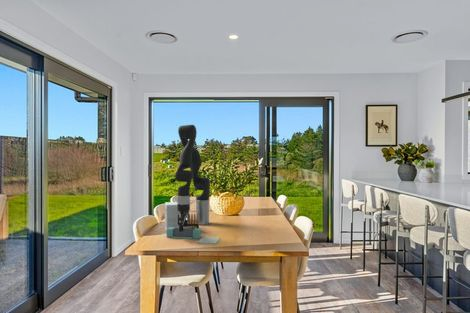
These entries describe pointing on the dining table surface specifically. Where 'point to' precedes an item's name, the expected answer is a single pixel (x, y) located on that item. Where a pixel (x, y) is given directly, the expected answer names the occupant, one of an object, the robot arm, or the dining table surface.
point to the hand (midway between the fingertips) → (183, 229)
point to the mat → (208, 240)
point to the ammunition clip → (193, 221)
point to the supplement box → (171, 215)
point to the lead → (183, 232)
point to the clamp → (195, 236)
